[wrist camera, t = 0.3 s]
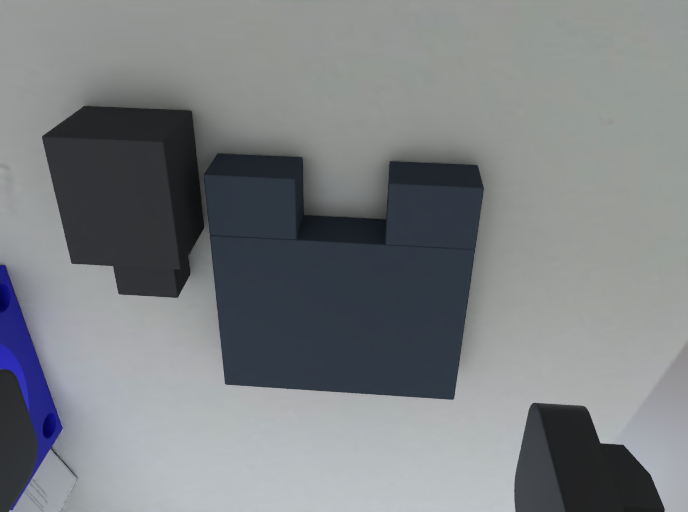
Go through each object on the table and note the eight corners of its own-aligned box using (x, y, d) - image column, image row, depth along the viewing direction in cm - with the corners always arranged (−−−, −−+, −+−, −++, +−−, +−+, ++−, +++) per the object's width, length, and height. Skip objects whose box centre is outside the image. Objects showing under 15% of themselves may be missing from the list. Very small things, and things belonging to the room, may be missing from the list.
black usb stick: (83, 105, 29) (41, 136, 26) (191, 110, 29) (163, 141, 25) (115, 270, 33) (83, 314, 30) (209, 275, 33) (187, 321, 30)
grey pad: (217, 153, 30) (203, 174, 28) (477, 165, 29) (483, 188, 27) (235, 354, 36) (224, 384, 34) (450, 368, 35) (453, 400, 33)
